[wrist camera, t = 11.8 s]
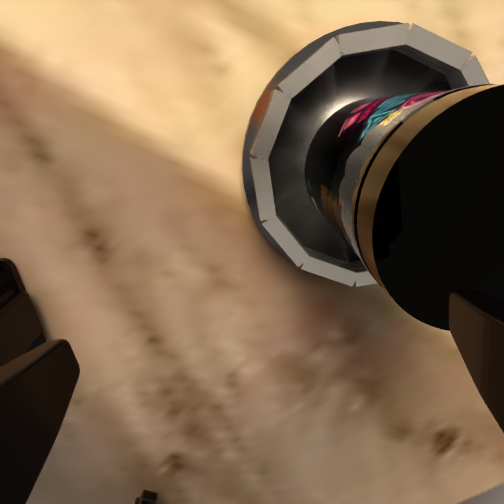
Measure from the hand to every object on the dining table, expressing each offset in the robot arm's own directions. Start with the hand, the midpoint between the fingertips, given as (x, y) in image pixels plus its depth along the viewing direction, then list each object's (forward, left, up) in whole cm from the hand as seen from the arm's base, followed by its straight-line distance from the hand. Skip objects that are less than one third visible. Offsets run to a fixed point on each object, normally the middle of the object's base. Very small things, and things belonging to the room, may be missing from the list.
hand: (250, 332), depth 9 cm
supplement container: (+7, +1, -12) cm, 14 cm away
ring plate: (+7, +1, -13) cm, 15 cm away
